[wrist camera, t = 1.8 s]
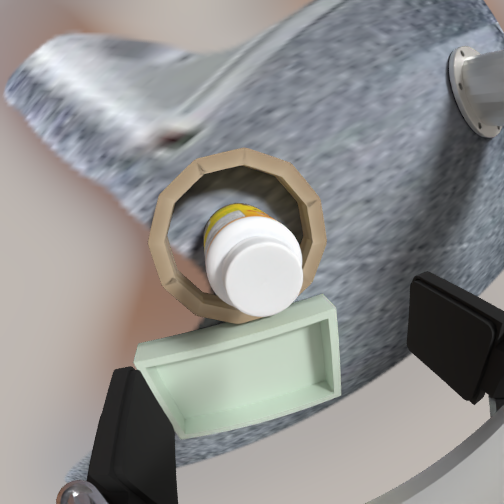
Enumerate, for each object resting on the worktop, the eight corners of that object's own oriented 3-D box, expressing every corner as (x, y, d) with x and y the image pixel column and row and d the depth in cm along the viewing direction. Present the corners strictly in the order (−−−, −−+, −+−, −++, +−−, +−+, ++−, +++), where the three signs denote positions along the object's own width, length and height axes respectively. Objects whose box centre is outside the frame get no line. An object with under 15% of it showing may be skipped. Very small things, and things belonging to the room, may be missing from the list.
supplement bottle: (282, 244, 25) (334, 293, 15) (226, 279, 25) (246, 349, 15) (248, 188, 23) (287, 203, 13) (189, 225, 23) (184, 268, 13)
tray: (322, 293, 27) (336, 307, 24) (330, 379, 30) (341, 395, 28) (138, 343, 25) (133, 362, 22) (180, 420, 28) (180, 439, 26)
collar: (298, 138, 22) (308, 136, 20) (323, 285, 26) (333, 295, 24) (135, 177, 21) (129, 178, 19) (182, 325, 25) (182, 338, 23)
